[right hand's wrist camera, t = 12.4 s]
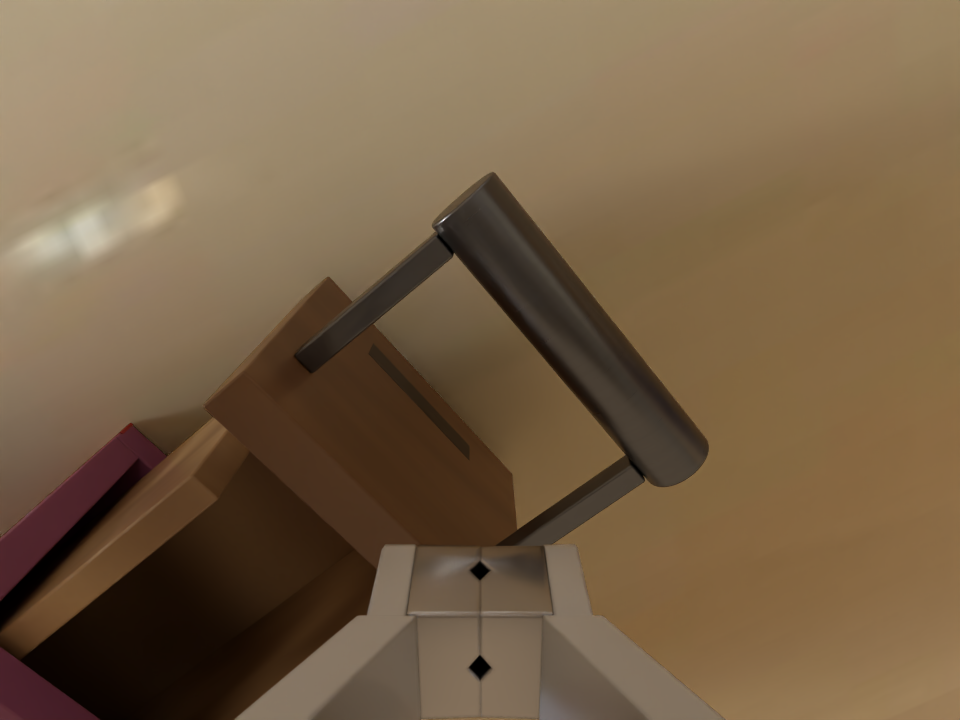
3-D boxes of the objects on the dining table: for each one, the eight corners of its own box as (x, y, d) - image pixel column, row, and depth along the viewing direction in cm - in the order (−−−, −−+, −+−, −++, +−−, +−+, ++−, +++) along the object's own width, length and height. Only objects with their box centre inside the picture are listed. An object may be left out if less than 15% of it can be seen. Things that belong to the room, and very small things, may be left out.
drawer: (480, 142, 19) (481, 164, 12) (659, 369, 21) (754, 505, 14) (-40, 596, 24) (-264, 806, 17) (149, 735, 27) (24, 971, 19)
